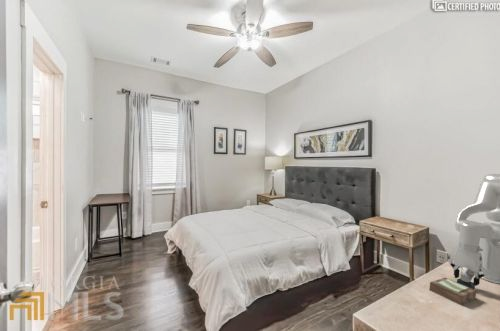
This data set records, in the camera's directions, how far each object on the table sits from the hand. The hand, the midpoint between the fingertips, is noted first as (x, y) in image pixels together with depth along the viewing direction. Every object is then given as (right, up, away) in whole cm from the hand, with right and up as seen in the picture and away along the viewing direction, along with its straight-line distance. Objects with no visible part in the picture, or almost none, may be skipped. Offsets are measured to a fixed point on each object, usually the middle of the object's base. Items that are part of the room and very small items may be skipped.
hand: (465, 281), depth 114 cm
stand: (-14, -2, -8) cm, 16 cm away
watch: (0, -3, 0) cm, 3 cm away
